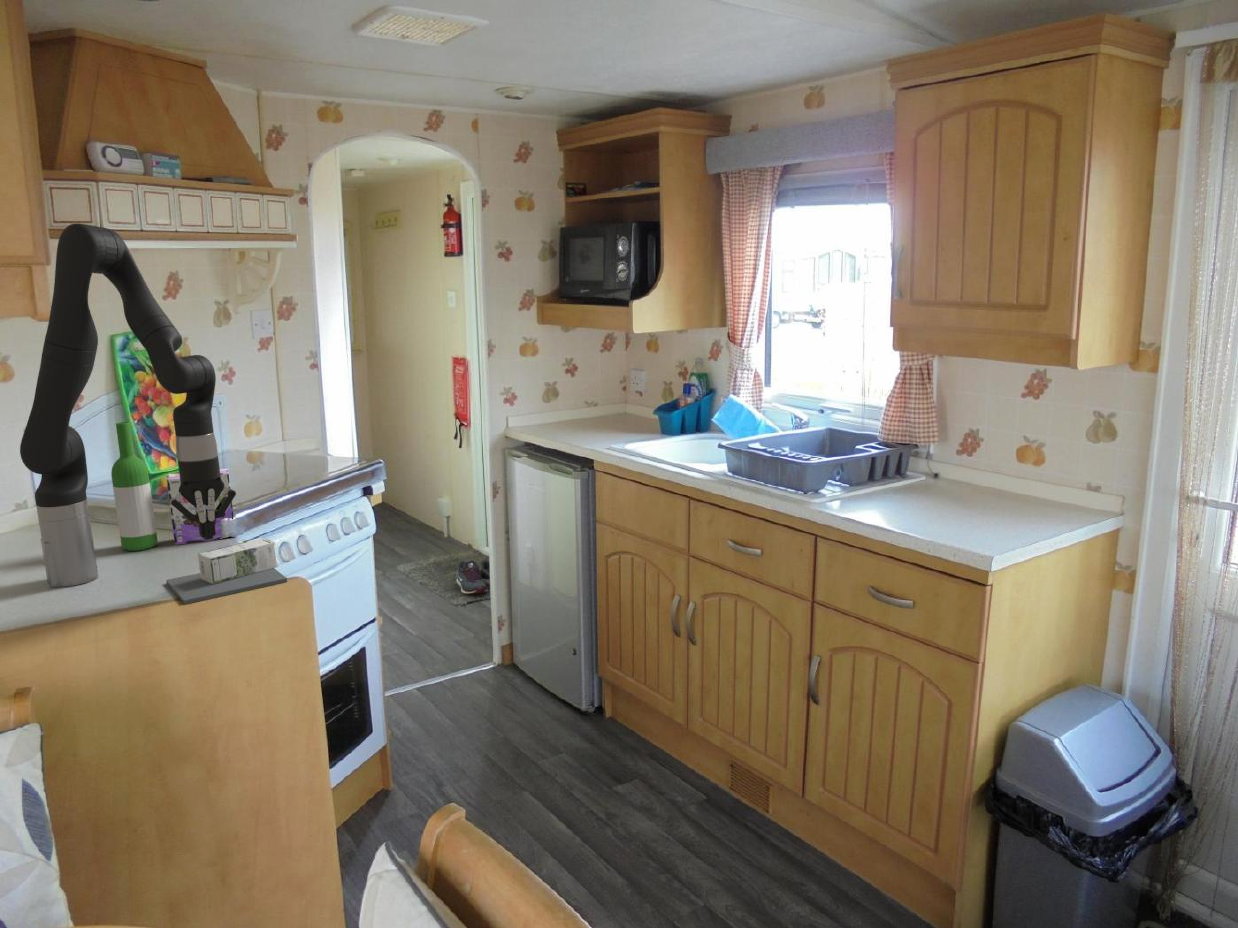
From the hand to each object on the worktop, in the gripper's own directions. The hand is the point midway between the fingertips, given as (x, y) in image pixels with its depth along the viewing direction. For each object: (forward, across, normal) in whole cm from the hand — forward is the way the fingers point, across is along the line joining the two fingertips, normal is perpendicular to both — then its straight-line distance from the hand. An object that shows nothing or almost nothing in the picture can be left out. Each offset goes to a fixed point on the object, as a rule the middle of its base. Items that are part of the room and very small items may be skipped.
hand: (208, 538), depth 192 cm
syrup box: (+6, -1, +1) cm, 7 cm away
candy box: (+10, +7, +38) cm, 40 cm away
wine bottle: (+10, -7, +41) cm, 43 cm away
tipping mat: (+10, +2, 0) cm, 11 cm away
